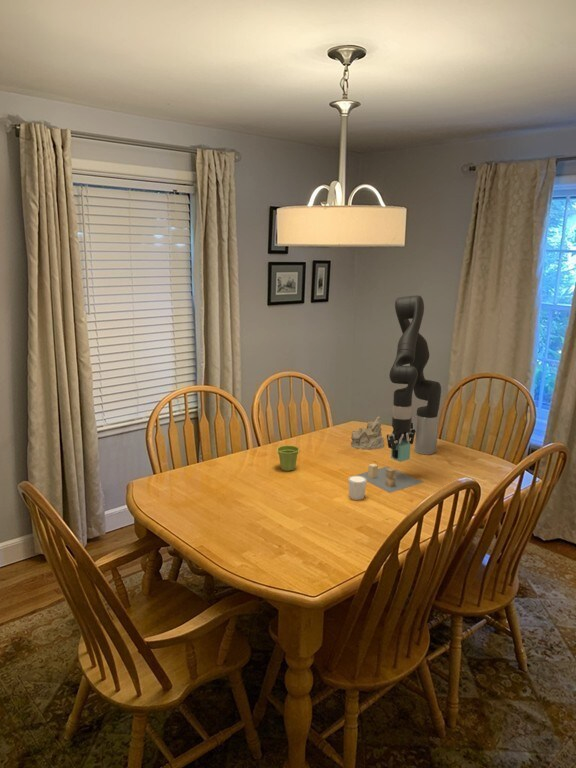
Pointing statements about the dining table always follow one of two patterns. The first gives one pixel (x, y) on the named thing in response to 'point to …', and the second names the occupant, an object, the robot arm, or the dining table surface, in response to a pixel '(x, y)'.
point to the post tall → (390, 477)
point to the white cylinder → (357, 487)
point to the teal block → (402, 451)
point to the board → (379, 478)
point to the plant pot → (288, 457)
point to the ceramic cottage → (368, 436)
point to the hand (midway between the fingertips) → (400, 456)
